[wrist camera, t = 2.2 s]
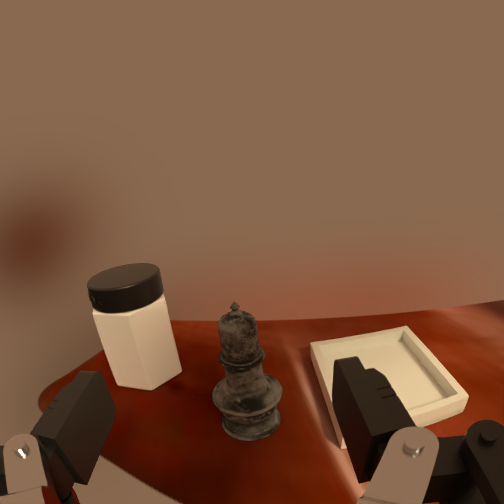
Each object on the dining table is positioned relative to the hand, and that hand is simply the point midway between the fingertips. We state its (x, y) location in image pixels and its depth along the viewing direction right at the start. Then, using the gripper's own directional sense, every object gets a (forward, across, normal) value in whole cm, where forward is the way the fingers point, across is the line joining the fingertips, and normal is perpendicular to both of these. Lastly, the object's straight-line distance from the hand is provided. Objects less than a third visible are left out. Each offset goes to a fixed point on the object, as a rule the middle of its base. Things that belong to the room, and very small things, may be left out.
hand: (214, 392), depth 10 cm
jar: (+22, +12, +14) cm, 28 cm away
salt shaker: (+13, 0, +14) cm, 19 cm away
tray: (+14, -13, +14) cm, 24 cm away
